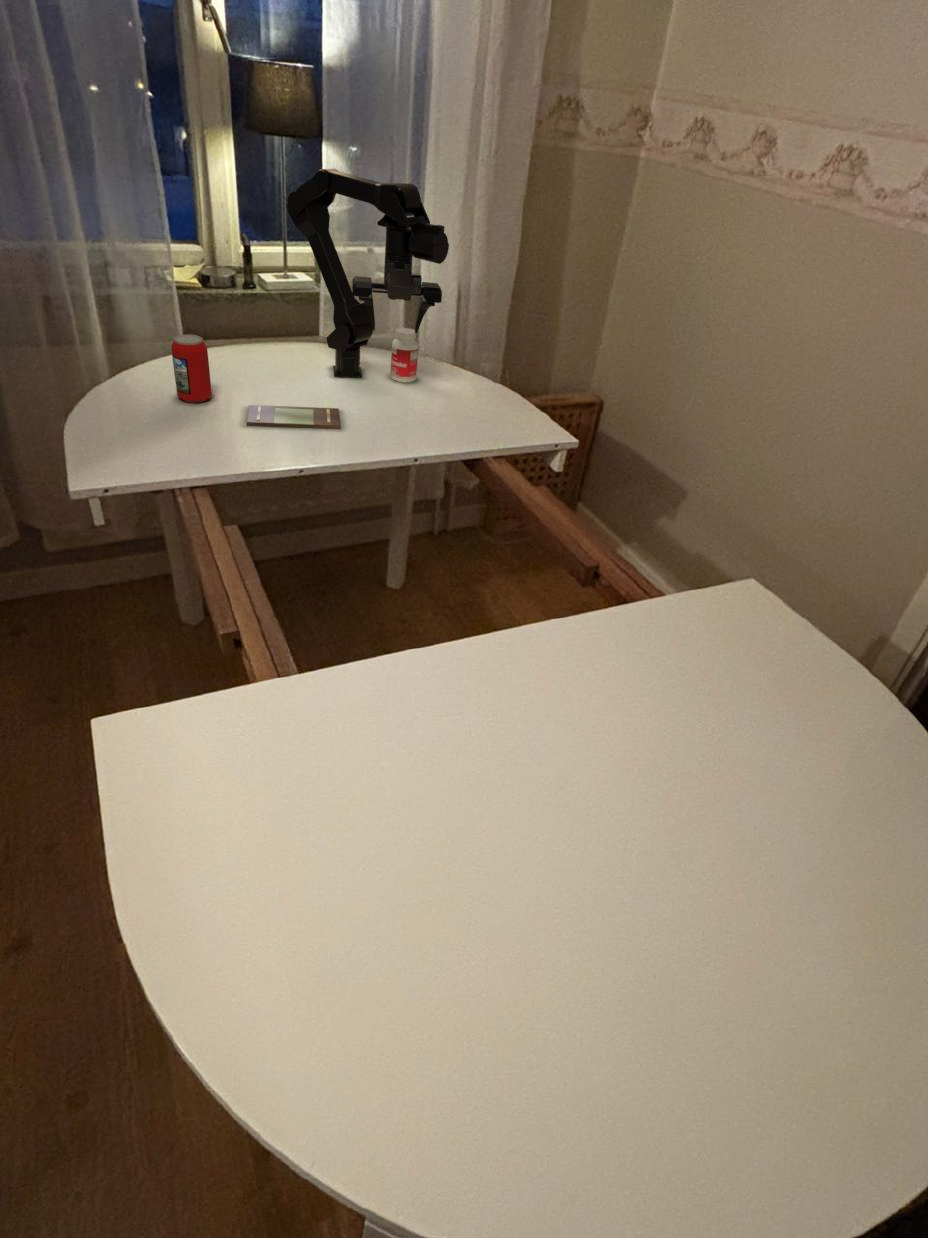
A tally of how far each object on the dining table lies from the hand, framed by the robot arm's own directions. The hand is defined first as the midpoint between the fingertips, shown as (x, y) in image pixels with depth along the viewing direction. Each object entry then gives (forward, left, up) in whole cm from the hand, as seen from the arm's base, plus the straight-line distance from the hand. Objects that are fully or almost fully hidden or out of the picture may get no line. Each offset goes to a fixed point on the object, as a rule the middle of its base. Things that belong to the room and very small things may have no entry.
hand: (394, 331), depth 162 cm
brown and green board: (+20, -22, -13) cm, 32 cm away
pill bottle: (-7, +3, -13) cm, 15 cm away
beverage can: (+11, -42, -13) cm, 45 cm away
